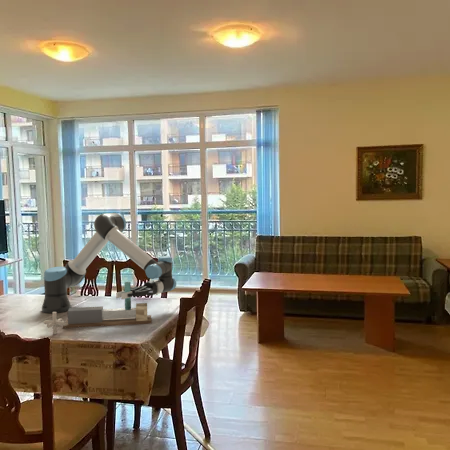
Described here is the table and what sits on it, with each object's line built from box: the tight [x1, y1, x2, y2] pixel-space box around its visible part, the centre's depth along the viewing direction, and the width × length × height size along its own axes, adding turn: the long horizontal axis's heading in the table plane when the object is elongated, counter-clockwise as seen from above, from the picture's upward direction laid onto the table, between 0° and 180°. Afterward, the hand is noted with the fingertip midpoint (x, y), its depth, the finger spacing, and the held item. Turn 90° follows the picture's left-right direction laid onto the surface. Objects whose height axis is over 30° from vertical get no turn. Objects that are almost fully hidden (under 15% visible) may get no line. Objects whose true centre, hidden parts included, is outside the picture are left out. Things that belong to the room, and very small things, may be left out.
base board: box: [62, 314, 152, 329], centre depth 228 cm, size 12×42×1 cm, turn 100°
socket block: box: [135, 302, 148, 321], centre depth 230 cm, size 9×6×7 cm, turn 10°
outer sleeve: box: [67, 306, 104, 324], centre depth 225 cm, size 6×16×6 cm, turn 100°
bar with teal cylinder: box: [102, 281, 136, 319], centre depth 228 cm, size 4×24×18 cm, turn 100°
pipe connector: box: [43, 312, 66, 335], centre depth 210 cm, size 10×10×10 cm
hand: (119, 296), depth 224 cm, fingers closed on bar with teal cylinder, 3 cm apart
